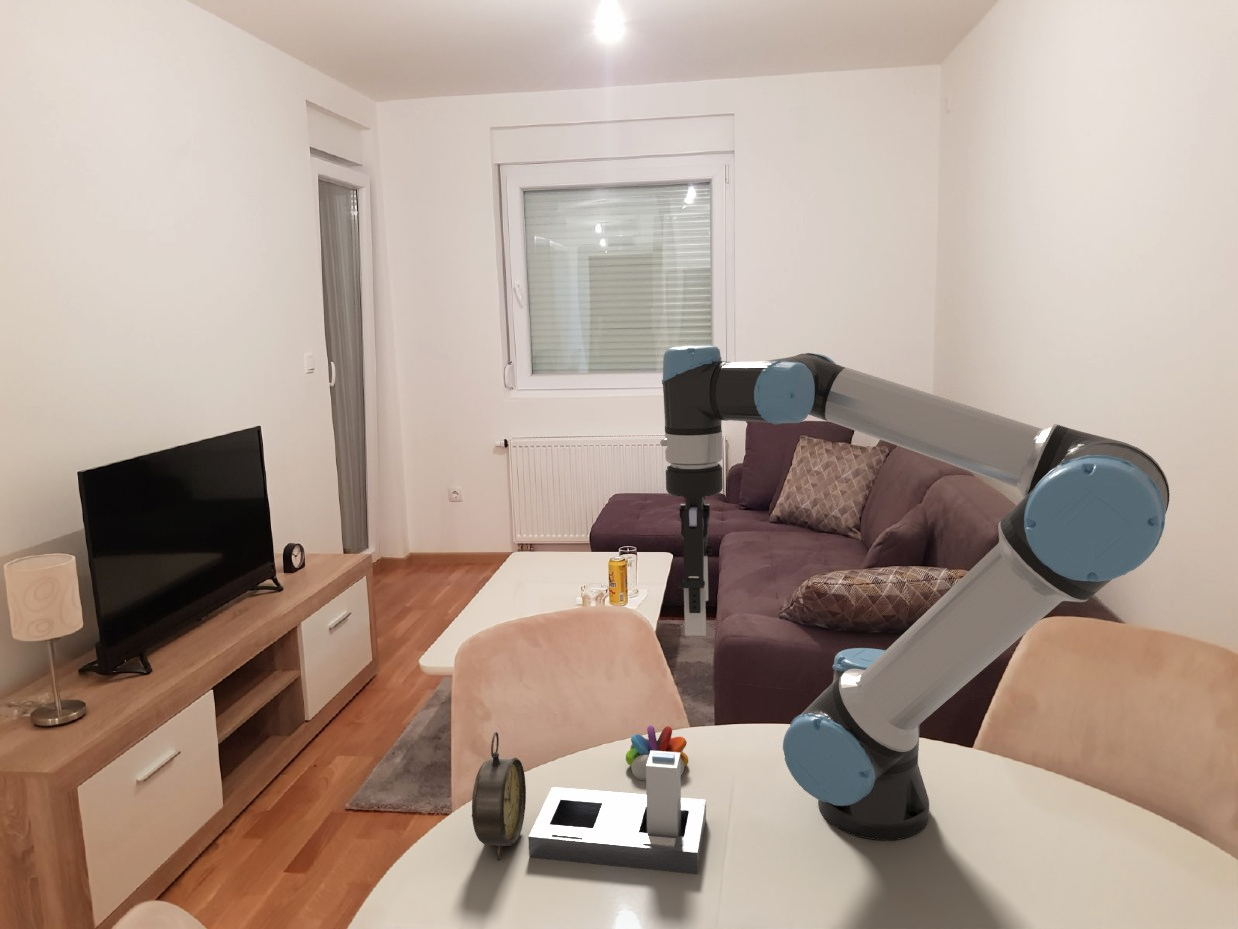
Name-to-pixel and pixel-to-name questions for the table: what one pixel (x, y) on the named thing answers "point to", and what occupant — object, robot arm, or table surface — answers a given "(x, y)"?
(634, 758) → the rainbow petal toy
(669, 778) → the plug
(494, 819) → the alarm clock
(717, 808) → the table surface
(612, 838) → the panel
